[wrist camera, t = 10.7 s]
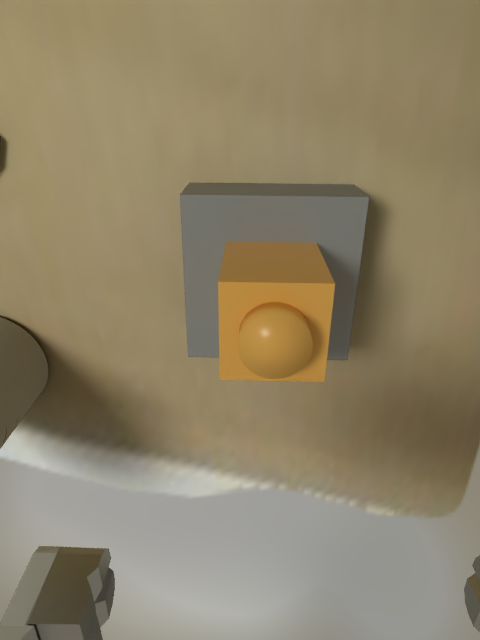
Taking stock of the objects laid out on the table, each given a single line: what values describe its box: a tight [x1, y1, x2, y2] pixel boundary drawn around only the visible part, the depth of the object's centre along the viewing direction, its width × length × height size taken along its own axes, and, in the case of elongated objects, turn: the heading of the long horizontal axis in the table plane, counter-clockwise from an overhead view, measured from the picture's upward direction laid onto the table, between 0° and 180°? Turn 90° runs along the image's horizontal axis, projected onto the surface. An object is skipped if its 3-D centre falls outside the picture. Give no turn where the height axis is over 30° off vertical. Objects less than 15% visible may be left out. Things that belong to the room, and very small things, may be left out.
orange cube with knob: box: [218, 241, 335, 382], centre depth 22 cm, size 5×5×7 cm
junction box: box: [180, 183, 369, 360], centre depth 25 cm, size 10×10×8 cm
